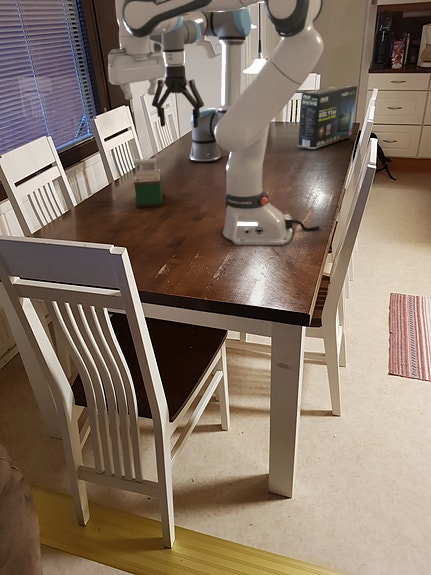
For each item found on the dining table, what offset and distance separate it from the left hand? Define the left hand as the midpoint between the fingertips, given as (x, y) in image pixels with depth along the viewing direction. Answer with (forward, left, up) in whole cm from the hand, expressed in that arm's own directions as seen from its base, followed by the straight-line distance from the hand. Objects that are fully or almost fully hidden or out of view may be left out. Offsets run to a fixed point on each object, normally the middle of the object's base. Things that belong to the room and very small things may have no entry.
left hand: (179, 126), depth 175 cm
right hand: (+30, +1, +15) cm, 33 cm away
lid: (+15, -8, -16) cm, 23 cm away
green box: (+14, -8, -25) cm, 30 cm away
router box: (-88, +44, -25) cm, 102 cm away
